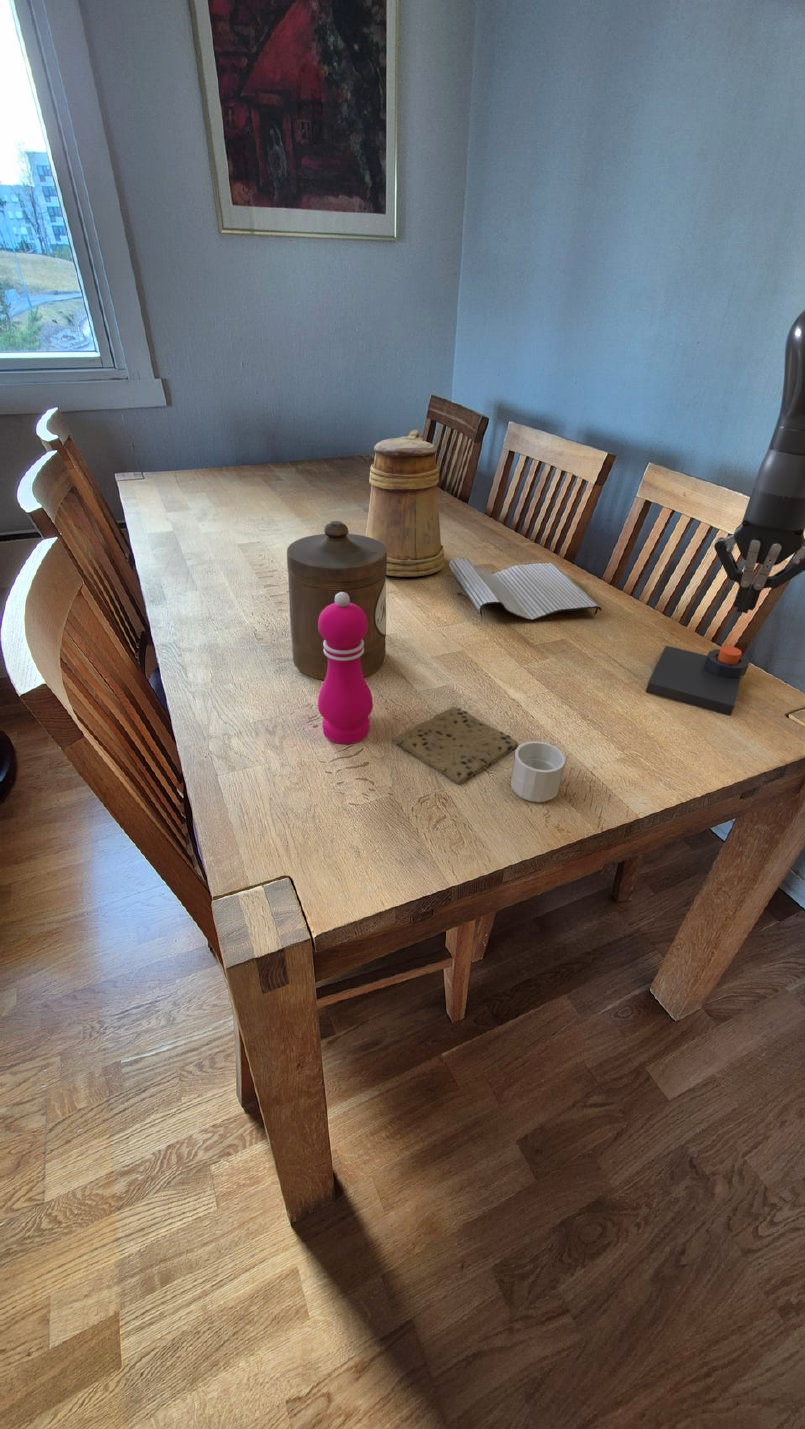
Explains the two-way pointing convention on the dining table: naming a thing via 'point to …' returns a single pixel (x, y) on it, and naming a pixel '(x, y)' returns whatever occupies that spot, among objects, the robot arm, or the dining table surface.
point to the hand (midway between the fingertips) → (742, 610)
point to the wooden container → (320, 577)
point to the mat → (521, 589)
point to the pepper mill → (344, 672)
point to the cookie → (456, 744)
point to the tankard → (406, 505)
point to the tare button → (729, 655)
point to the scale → (697, 679)
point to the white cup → (537, 771)
